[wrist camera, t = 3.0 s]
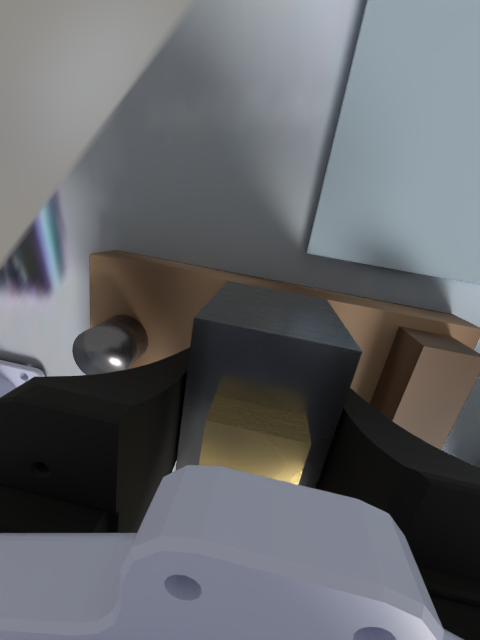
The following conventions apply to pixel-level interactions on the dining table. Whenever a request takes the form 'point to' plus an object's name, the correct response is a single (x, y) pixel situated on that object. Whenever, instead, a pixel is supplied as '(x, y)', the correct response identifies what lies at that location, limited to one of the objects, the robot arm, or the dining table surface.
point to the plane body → (355, 312)
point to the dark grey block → (265, 383)
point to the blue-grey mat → (408, 144)
